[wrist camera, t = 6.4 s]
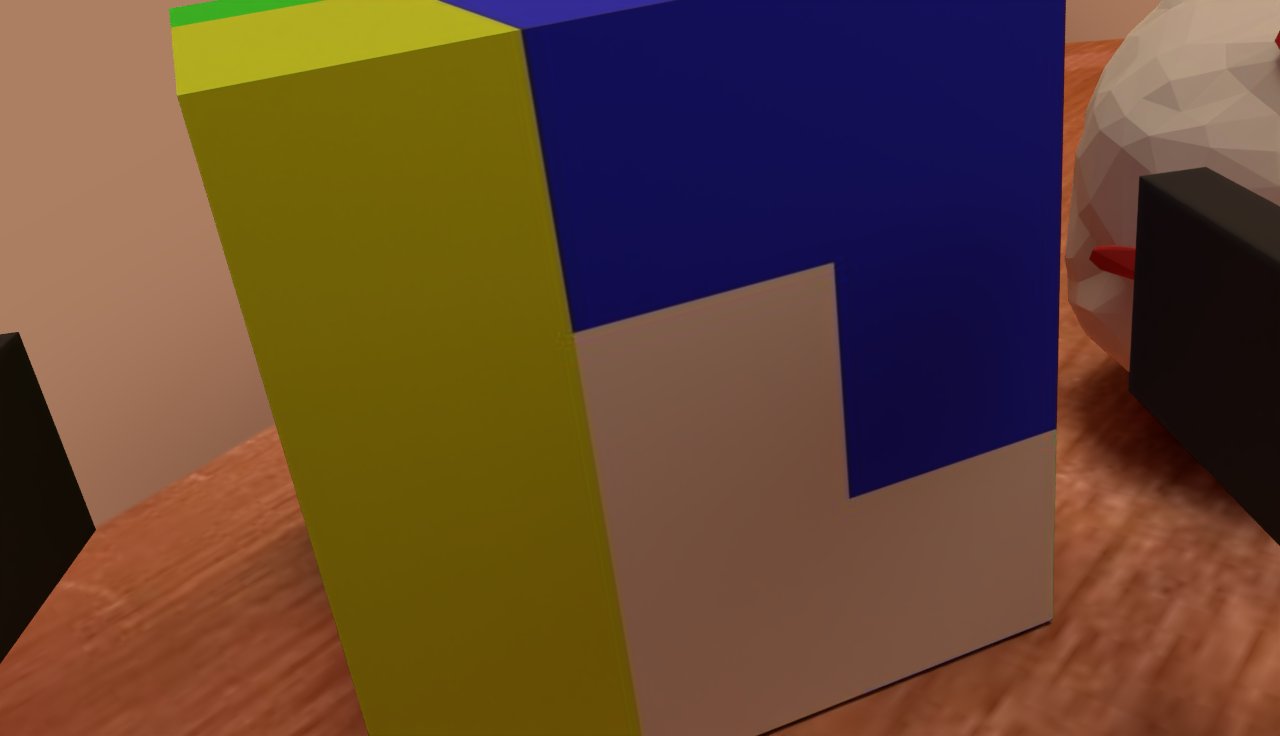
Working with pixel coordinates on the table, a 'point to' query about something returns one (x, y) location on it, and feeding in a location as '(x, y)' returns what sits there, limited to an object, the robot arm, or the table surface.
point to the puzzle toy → (647, 340)
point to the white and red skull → (1168, 139)
